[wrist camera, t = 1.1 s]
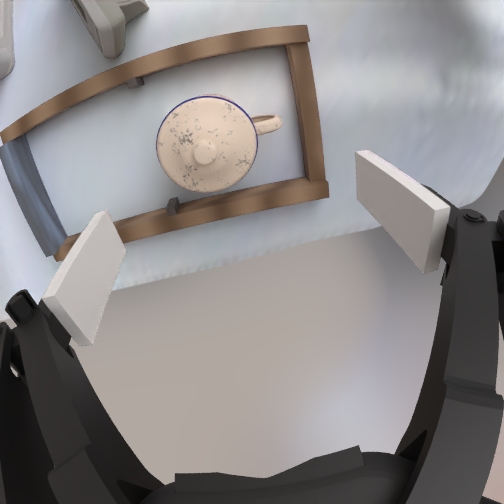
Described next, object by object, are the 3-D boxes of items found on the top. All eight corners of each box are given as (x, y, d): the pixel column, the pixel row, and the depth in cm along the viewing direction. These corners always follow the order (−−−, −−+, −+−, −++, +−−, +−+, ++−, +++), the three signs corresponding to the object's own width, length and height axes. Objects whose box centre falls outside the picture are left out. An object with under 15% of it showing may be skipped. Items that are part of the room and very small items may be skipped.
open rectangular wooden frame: (299, 28, 25) (310, 22, 21) (321, 188, 37) (333, 202, 33) (12, 127, 25) (-7, 136, 22) (64, 250, 37) (52, 268, 34)
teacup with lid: (184, 174, 34) (170, 218, 24) (161, 105, 29) (133, 120, 19) (279, 149, 33) (305, 183, 24) (263, 78, 28) (285, 77, 18)
